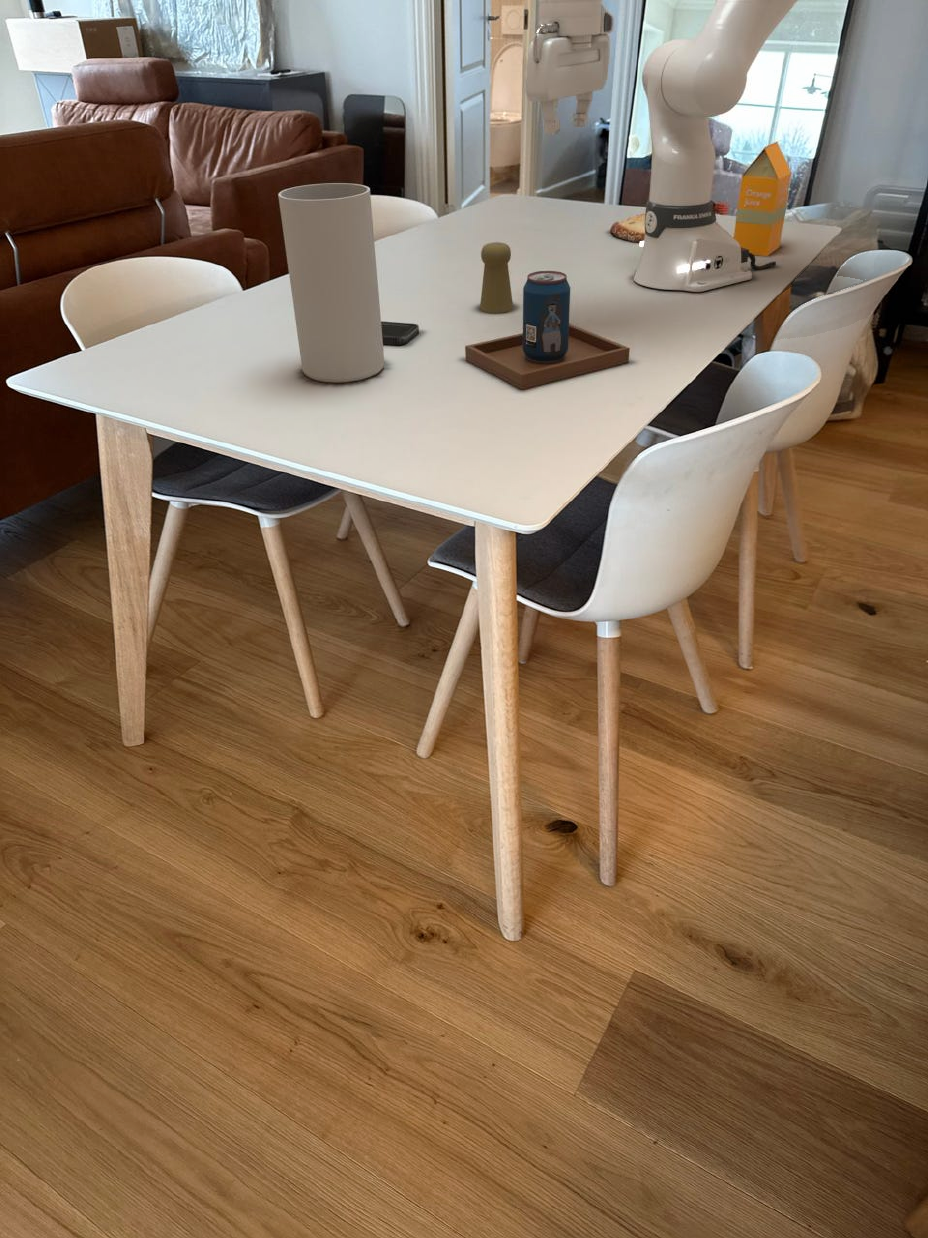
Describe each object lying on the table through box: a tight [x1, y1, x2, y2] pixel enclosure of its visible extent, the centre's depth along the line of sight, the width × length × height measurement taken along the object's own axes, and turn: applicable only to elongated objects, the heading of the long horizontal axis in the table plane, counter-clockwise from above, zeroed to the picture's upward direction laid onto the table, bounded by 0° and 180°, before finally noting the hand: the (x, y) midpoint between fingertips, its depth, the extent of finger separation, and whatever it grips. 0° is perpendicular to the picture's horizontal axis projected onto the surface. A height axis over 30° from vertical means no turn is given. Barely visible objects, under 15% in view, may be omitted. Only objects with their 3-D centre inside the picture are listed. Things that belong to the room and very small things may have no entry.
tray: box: [464, 323, 631, 390], centre depth 138 cm, size 20×16×2 cm
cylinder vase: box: [277, 182, 385, 384], centre depth 131 cm, size 12×12×25 cm
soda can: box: [522, 270, 571, 363], centre depth 135 cm, size 7×7×12 cm
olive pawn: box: [479, 241, 514, 314], centre depth 159 cm, size 6×6×11 cm
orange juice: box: [733, 141, 792, 257], centre depth 186 cm, size 8×9×20 cm
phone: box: [381, 320, 420, 346], centre depth 151 cm, size 8×1×15 cm
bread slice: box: [609, 213, 645, 243], centre depth 203 cm, size 18×18×4 cm
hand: (566, 129), depth 137 cm, fingers open, 8 cm apart
